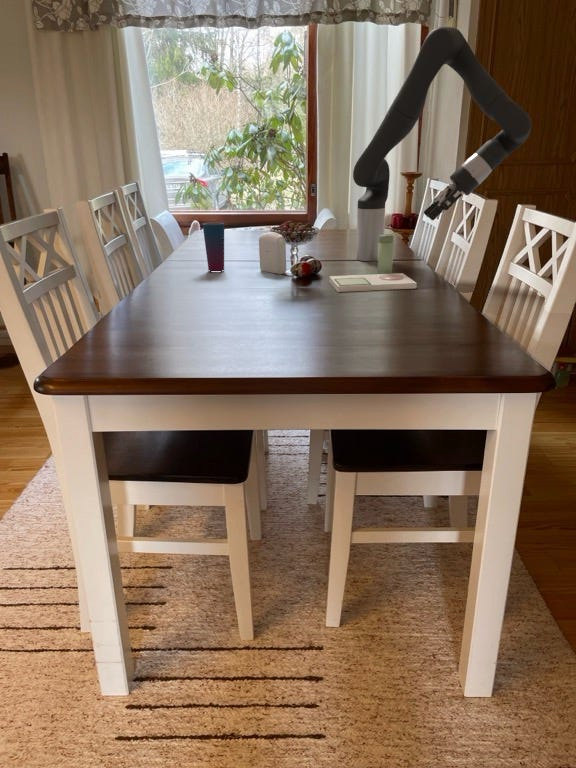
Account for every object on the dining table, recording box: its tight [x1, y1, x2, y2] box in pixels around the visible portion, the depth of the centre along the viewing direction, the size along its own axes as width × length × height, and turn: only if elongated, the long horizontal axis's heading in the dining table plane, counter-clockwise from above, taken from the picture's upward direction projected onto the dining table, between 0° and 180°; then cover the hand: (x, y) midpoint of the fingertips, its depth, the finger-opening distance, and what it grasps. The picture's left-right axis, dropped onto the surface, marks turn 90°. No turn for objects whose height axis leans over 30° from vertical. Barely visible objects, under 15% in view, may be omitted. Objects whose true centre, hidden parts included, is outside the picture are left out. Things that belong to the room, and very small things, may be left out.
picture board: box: [328, 272, 418, 293], centre depth 172 cm, size 14×22×2 cm, turn 96°
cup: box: [202, 221, 225, 271], centre depth 193 cm, size 7×7×15 cm
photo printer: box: [258, 231, 287, 275], centre depth 191 cm, size 10×4×12 cm, turn 39°
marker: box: [376, 233, 395, 274], centre depth 182 cm, size 4×4×12 cm
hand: (427, 216), depth 177 cm, fingers open, 8 cm apart
